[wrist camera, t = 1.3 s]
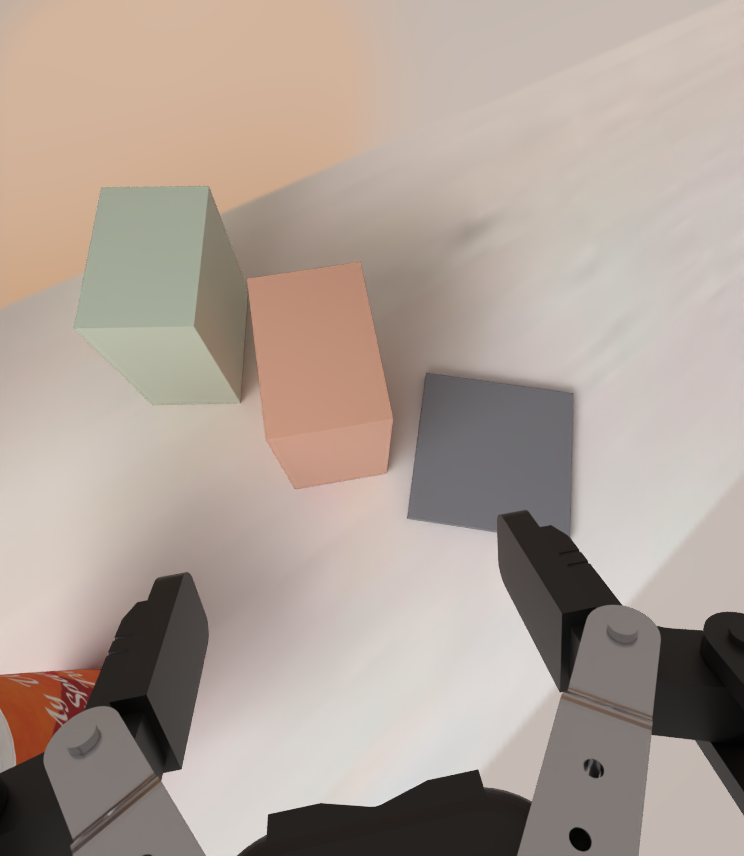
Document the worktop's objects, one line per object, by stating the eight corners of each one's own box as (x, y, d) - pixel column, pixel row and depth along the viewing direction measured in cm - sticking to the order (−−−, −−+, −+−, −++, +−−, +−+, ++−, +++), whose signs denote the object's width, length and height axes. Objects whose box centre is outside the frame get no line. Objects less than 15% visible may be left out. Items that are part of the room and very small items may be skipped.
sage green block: (240, 403, 35) (193, 326, 26) (152, 404, 35) (73, 328, 26) (248, 290, 39) (208, 186, 29) (166, 292, 38) (101, 187, 29)
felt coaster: (407, 518, 33) (407, 516, 32) (425, 376, 36) (426, 372, 36) (566, 542, 32) (569, 541, 32) (570, 396, 36) (573, 393, 35)
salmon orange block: (386, 473, 34) (393, 418, 24) (295, 489, 33) (265, 440, 24) (362, 351, 37) (360, 261, 27) (278, 365, 36) (246, 278, 27)
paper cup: (182, 673, 30) (34, 720, 17) (122, 827, 27) (-109, 1025, 14) (60, 630, 31) (-174, 641, 17) (-10, 776, 28) (-345, 918, 15)
